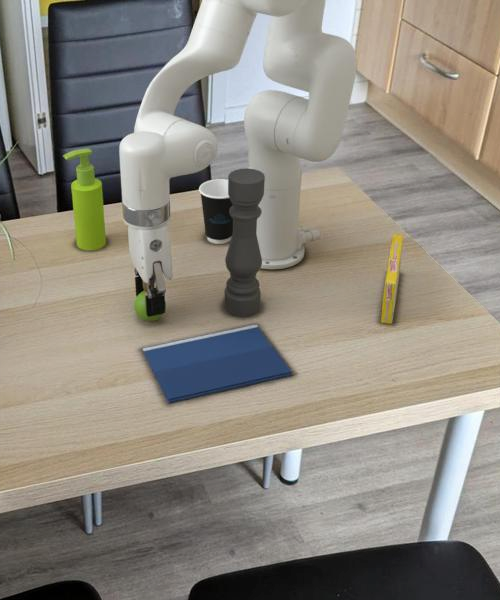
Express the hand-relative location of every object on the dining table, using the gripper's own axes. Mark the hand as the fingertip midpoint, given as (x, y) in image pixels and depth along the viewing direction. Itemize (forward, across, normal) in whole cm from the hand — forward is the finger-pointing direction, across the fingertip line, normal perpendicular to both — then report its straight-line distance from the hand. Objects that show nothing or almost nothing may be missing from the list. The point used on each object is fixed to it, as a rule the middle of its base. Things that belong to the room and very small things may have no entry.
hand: (150, 303), depth 142 cm
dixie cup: (+3, +22, -21) cm, 31 cm away
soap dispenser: (+3, +29, +4) cm, 29 cm away
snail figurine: (+3, +1, 0) cm, 3 cm away
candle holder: (+3, -2, -16) cm, 16 cm away
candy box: (+3, -8, -41) cm, 42 cm away
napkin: (+3, -15, -6) cm, 16 cm away
